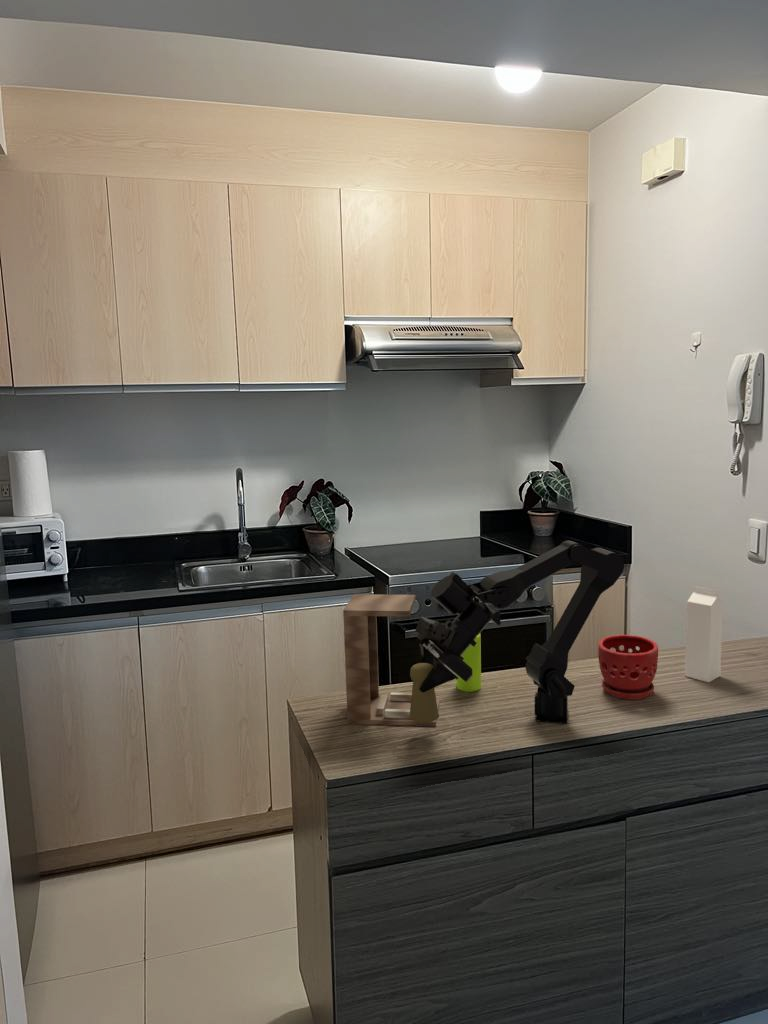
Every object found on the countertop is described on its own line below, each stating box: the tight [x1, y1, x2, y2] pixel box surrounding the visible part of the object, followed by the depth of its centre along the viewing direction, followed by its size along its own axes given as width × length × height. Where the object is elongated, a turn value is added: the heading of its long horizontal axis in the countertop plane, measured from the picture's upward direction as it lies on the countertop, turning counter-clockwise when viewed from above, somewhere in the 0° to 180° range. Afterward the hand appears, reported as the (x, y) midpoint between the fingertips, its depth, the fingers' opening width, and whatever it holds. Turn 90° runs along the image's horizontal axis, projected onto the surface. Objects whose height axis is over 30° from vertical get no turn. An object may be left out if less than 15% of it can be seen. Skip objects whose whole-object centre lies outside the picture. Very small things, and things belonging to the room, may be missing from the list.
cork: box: [409, 663, 440, 723], centre depth 154 cm, size 6×6×11 cm
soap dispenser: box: [455, 633, 482, 692], centre depth 180 cm, size 6×7×20 cm
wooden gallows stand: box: [342, 593, 441, 727], centre depth 166 cm, size 19×13×25 cm
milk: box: [684, 585, 724, 683], centre depth 182 cm, size 6×6×22 cm
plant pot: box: [597, 634, 659, 700], centre depth 174 cm, size 13×13×12 cm
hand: (416, 686), depth 154 cm, fingers closed on cork, 5 cm apart
